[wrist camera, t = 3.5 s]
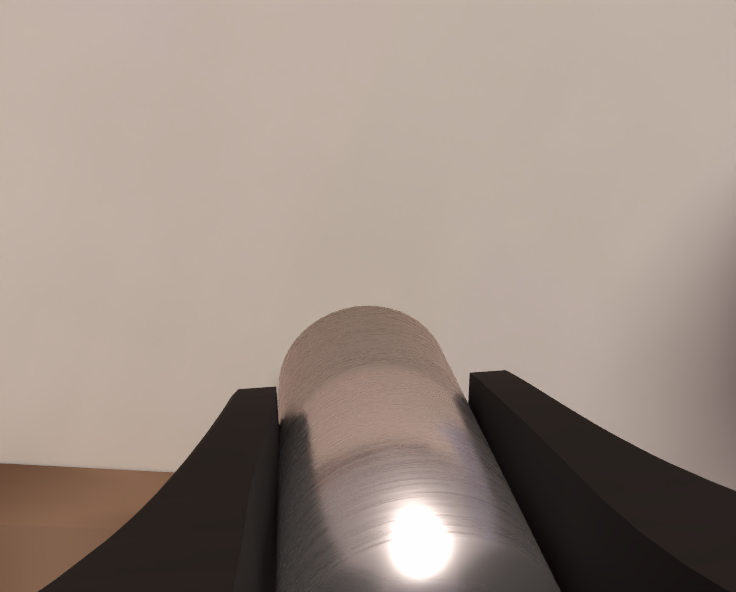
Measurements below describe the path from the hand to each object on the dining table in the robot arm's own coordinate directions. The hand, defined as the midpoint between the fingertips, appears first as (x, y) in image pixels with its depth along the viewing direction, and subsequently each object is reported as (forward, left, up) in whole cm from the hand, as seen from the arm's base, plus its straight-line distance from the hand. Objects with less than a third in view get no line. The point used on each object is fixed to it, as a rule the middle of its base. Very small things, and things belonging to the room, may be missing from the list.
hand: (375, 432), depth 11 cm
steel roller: (0, 0, -2) cm, 2 cm away
